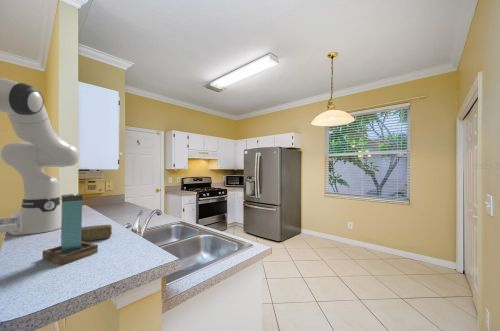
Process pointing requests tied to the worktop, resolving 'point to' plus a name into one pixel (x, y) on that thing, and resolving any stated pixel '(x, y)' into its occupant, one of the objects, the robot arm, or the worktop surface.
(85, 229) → the stone block
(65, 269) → the worktop surface
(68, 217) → the teal upright block
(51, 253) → the stand
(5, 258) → the worktop surface
